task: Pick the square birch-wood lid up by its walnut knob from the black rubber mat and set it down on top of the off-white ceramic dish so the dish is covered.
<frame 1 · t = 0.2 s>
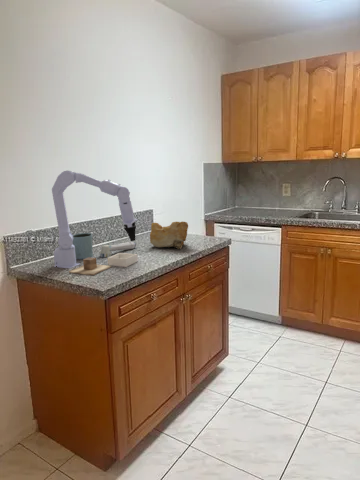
hand: (132, 239, 176), 11 cm above the counter, tool pointing down, fingers open, 7 cm apart
lid: (90, 269, 162), resting on mat
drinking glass: (83, 258, 186), on the counter
toothpaste tube: (118, 253, 195), on the counter
mat: (90, 270, 162), on the counter
dish: (123, 264, 171), on the counter
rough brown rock: (173, 246, 205), on the counter
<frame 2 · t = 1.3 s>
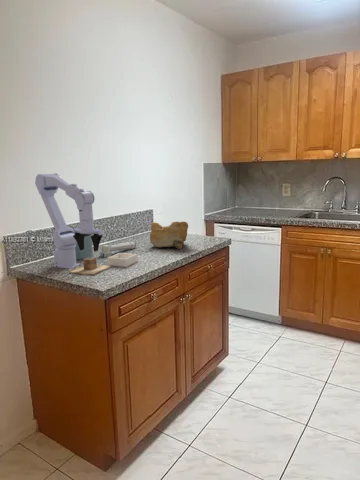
hand: (89, 250, 160), 9 cm above the counter, tool pointing down, fingers open, 7 cm apart
nothing on the counter moved.
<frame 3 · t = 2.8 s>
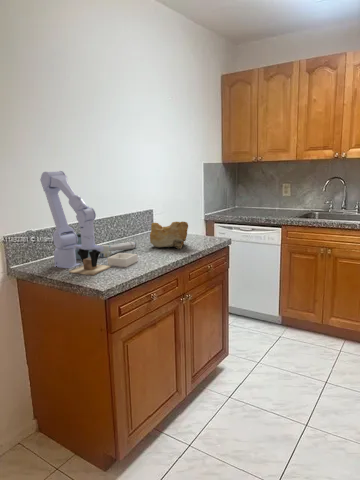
hand: (90, 266, 162), 2 cm above the counter, tool pointing down, fingers closed on lid, 4 cm apart
lid: (90, 269, 162), resting on mat, touching gripper
everything else where it was.
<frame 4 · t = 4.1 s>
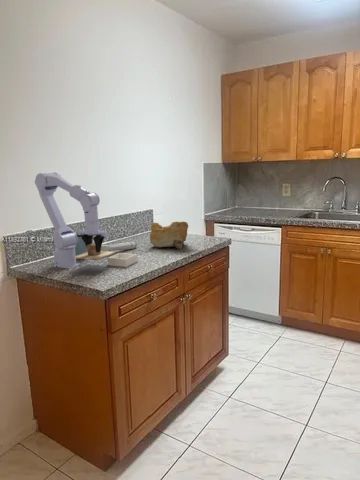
hand: (94, 251, 162), 8 cm above the counter, tool pointing down, fingers closed on lid, 4 cm apart
lid: (94, 255, 162), point 7 cm above the counter, touching gripper
everything else where it was.
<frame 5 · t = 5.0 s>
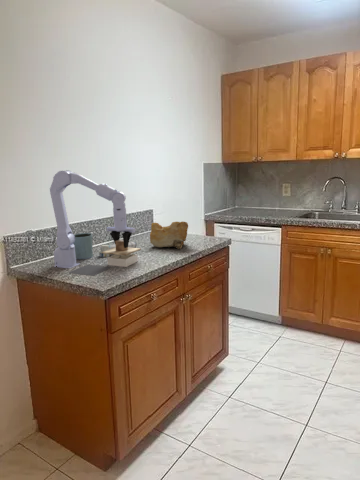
hand: (122, 247, 170), 8 cm above the counter, tool pointing down, fingers closed on lid, 4 cm apart
lid: (121, 251, 170), point 6 cm above the counter, touching gripper
everything else where it was.
when the fingers open (7 cm above the counter, at t = 5.6 s): lid stays where it is, resting on dish.
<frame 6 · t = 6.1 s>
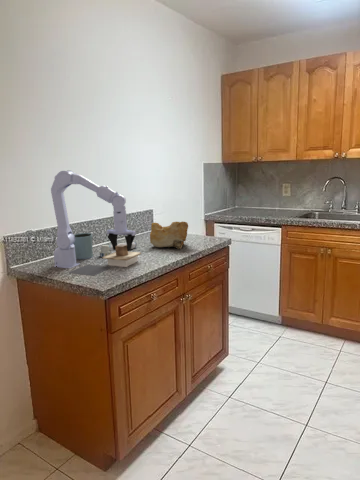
hand: (122, 249, 170), 7 cm above the counter, tool pointing down, fingers open, 7 cm apart
lid: (122, 256, 170), point 4 cm above the counter, touching dish
everything else where it was.
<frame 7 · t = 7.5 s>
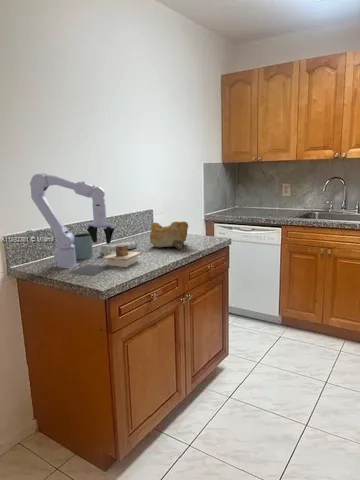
hand: (101, 242, 170), 10 cm above the counter, tool pointing down, fingers open, 7 cm apart
nothing on the counter moved.
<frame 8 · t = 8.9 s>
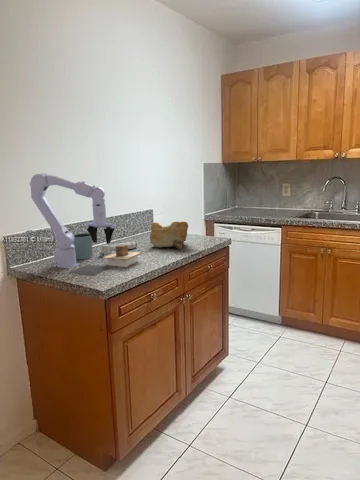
hand: (101, 242, 170), 10 cm above the counter, tool pointing down, fingers open, 7 cm apart
nothing on the counter moved.
at the end: lid 0.3 cm off-centre on the dish, point 4.0 cm above the dish's base; lid tilted 0°; the gripper is holding nothing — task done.
